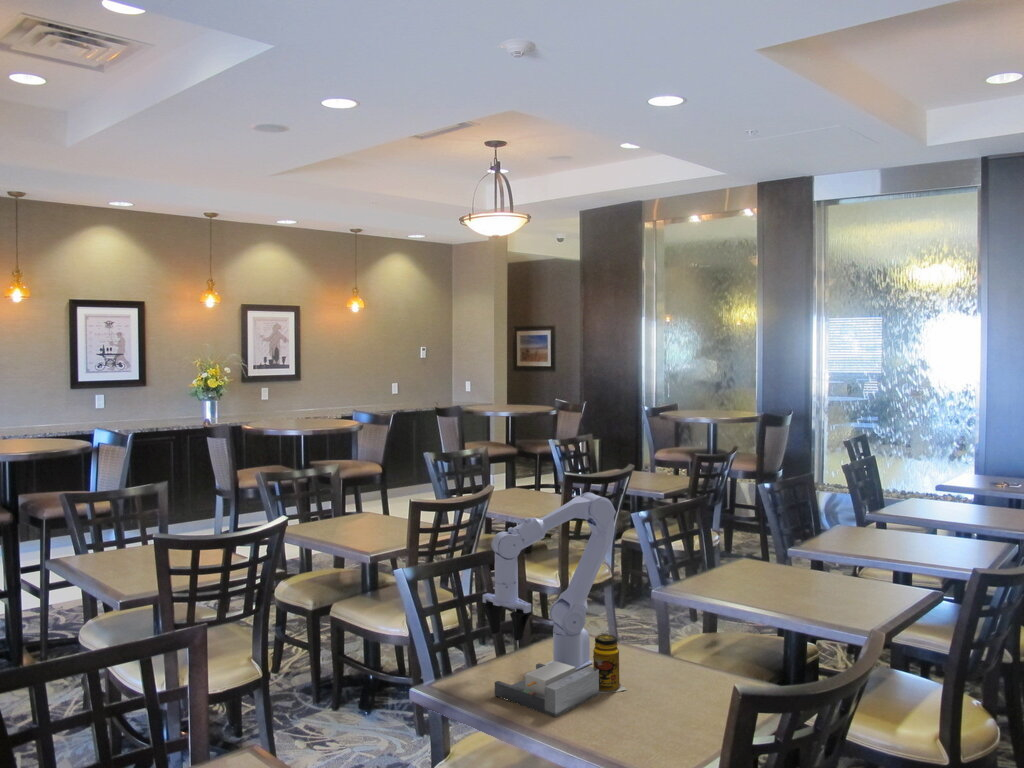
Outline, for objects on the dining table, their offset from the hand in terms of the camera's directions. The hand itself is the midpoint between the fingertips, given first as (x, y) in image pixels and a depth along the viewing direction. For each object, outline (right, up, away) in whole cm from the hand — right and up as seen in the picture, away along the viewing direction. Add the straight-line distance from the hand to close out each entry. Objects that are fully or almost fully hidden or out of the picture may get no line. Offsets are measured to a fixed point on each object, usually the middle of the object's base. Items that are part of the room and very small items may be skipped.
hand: (506, 636), depth 206 cm
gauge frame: (+9, -10, -13) cm, 19 cm away
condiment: (+23, -10, -8) cm, 27 cm away
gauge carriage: (+9, -9, -15) cm, 20 cm away
